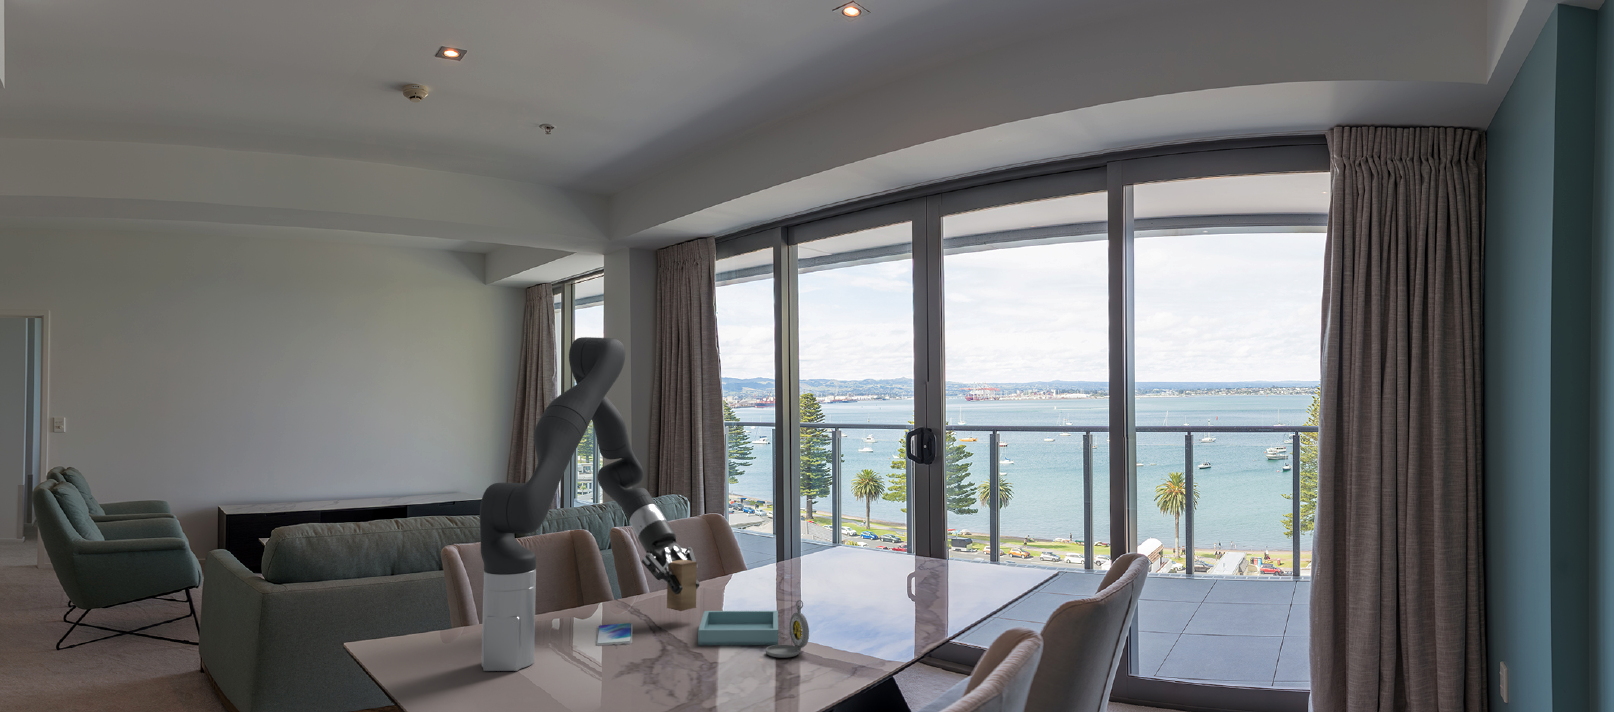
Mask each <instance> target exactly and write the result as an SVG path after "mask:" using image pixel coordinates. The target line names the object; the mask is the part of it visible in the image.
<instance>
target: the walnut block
mask: <svg viewBox="0 0 1614 712" xmlns="http://www.w3.org/2000/svg"><path fill="white" fill-rule="evenodd" d="M670 563H671V568H672V570H673V572H674V574H673V575H675V576H676V578H677V579H678V581H679V583H680V584H681V586H682V588H683V589H682V591H681V592H680V593H679V594H675V593H674V592H673V591H672V590H671V588H670V586H669V585H668V583H667V582H666V586H667V587H666V609H670V610H674V611H679V612H683V611H687V610H691V609H696V608H697V589H696V581H697V579H698V578H697V576H698V573H697V572H698V571H697V570H698V569H697V568H698V567H697V565H698V562H697V561H696V562H695V561H689V560H676V561H672V562H670Z"/></svg>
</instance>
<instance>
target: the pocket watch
mask: <svg viewBox="0 0 1614 712" xmlns="http://www.w3.org/2000/svg"><path fill="white" fill-rule="evenodd" d="M799 602H800V603H801V604H798V603H799ZM795 605H796V610H797V612H794V613H793V614H792V615H791V616H790V621H789V635H790V639H791V641H792V643H793V645H792V644H778V645H768V646H767V647H766V648H765V653H766V654H767V655H768V656H770V657H773V658H774V657H775V658H779V659H780V658H792V657H796V656H797V655H799V654H800V652H801V649H802V648H804V647H805V646H807V644H808V642H809V637H810V628H809V623H808V620H807V618H806V616H805V615H804V614H803V613H801V610H802V608H803V607H804V602H803V600H801V599H798V600H797V601H796V603H795Z"/></svg>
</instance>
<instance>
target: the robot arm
mask: <svg viewBox="0 0 1614 712" xmlns="http://www.w3.org/2000/svg"><path fill="white" fill-rule="evenodd" d="M625 360H626V349H625V346H624V344H623V343H622V342H621V341H620V340H618V339H616V338H611V337H596V336H595V337H591V336H590V337H587V336H584V337H582V336H580V337H578V338H576V339H574V340H573V341H572V343H571V344H570V347H569V352H568V362H569V367H570V370H571V373H572V376H573V378H574V381H575V383H576V384H575V385H573V386H572V387H570V388H569V389H567V390H566V391H564V392H562V393H560V394H559V395H558V396H556V398H554V399H553V400H552V401H551V402H550V403H548V405H547V407H546V408H545V410H544V411H543V412H542V415H541V417H540V418H539V420H538V422H537V423H536V425H535V426H534V427H535V428H534V430H533V442H534V444H533V445H534V448H535V453H536V457H537V464H536V467H535V468H534V471H533V474H532V475H531V477H530V478H529V479H528V480H527V482H525V483H523V482H522V483H521V482H519V483H518V482H494V483H492V484H490V485H489V486H488V487H487V488H486V489H485V491H484V492H483V495H482V497H481V501H480V506H479V529H480V531H479V532H480V535H479V536H480V538H479V539H480V556H481V559H482V562H483V591H482V592H483V593H482V596H483V597H482V624H481V625H482V628H481V634H482V635H481V667H482V668H483V670H482V671H483V672H496V671H497V672H500V671H501V672H502V671H503V672H509V671H510V672H511V671H513V672H514V671H515V672H517V671H519V670H520V669H523V668H527V667H530V666H531V665H533V663H534V662H535V634H536V633H535V632H536V630H535V629H536V628H535V627H536V625H535V623H536V591H537V589H536V587H537V586H536V583H537V581H536V579H537V555H536V553H534V552H533V551H532V550H531V549H528V548H527V547H525V546H523V545H522V544H520V543H519V542H518V540H517V539H516V538H515V534H519V535H521V534H523V535H524V534H525V535H526V534H532V533H535V532H536V531H537V530H539V528H540V527H541V526H542V524H543V523H544V521H545V519H546V517H547V515H548V513H549V510H550V508H551V505H552V503H553V501H554V498H555V495H556V492H557V491H558V487H559V485H560V482H561V481H562V478H563V475H564V474H565V472H566V470H567V467H568V465H569V464H570V462H571V459H572V457H573V455H574V454H575V452H576V450H577V448H578V446H579V445H580V443H581V441H582V439H583V437H584V435H585V434H586V431H587V429H588V427H589V425H590V423H592V424H593V428H594V433H595V437H596V442H597V445H598V450H599V453H600V455H601V457H602V458H604V459H606V460H616V461H613V462H611V463H607V464H605V465H603V466H602V467H600V468H599V469H598V472H597V477H596V478H597V481H598V485H599V487H600V488H601V489H602V490H603V492H604V493H605V494H607V496H609V497H610V498H611V499H612V500H613V501H614V502H615V503H616V504H617V505H618V506H619V507H620V508H621V509H622V511H623V513H624V515H625V516H626V517H627V519H628V521H629V523H630V525H631V527H632V529H633V530H632V531H633V532H634V534H635V535H636V538H637V539H638V542H639V543H640V545H641V547H643V550H644V552H645V553H646V554H645V556H644V557H643V558H642V560H641V563H642V564H643V565H644V567H645V568H646V569H647V570H648V571H649V572H650V573H651V575H653V577H654V578H655V580H657V581H661V580H663V581H665V582H666V584H667V583H668V585H669V586H670V588H671V590H672V591H673V592H674V593H675V594H679V593H680V592H681V591H682V589H683V588H682V586H681V584H680V583H679V581H678V579H677V578H676V576H675V575H673V574H674V572H673V570H672V568H671V563H670V562H672V561H676V560H689V561H695V562H697V558H696V556H695V554H694V550H693V548H692V547H691V546H688V547H687V548H683V547H681V545H680V544H678V543H677V538H676V537H677V535H676V534H675V532H674V530H673V528H672V527H671V525H670V524H669V522H668V520H667V519H666V516H665V515H664V513H663V512H662V511H661V509H660V508H659V507H658V505H657V504H656V502H655V500H654V499H653V498H652V495H651V494H650V492H649V491H648V489H646V488H644V487H634V486H636V485H638V484H640V483H641V482H642V480H643V478H644V474H645V473H644V469H643V466H642V464H641V462H640V461H639V460H638V458H637V456H636V455H635V453H634V451H633V448H632V446H631V444H630V439H629V435H628V429H627V426H626V422H625V420H624V418H623V415H622V414H621V412H620V411H619V409H618V408H617V407H616V406H615V404H613V402H612V401H611V400H610V398H608V396H607V394H608V392H609V391H610V389H612V386H614V383H615V382H616V381H617V379H618V377H619V375H620V374H621V372H622V370H623V368H624V364H625ZM632 487H633V488H632ZM697 568H699V564H697ZM699 587H700V582H699V579H698V578H697V581H696V590H698V588H699Z"/></svg>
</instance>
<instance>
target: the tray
mask: <svg viewBox="0 0 1614 712" xmlns="http://www.w3.org/2000/svg"><path fill="white" fill-rule="evenodd" d="M697 636H698V637H697V646H773V645H779V610H704V611H703V614H702V618H701V621H700V623H699V627H698V631H697Z"/></svg>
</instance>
